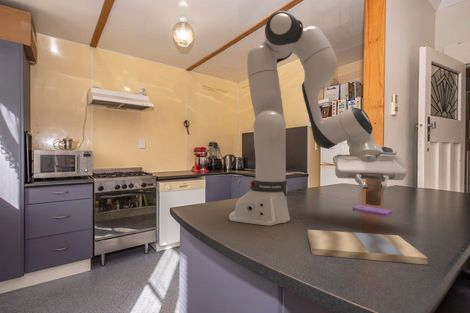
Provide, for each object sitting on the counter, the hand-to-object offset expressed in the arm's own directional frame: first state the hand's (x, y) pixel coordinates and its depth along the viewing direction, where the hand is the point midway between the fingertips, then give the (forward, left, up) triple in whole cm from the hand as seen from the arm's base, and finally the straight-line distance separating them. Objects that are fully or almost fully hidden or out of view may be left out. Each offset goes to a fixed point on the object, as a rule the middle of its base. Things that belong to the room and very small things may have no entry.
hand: (374, 188), depth 71 cm
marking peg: (0, +1, -5) cm, 5 cm away
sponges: (+8, +28, -14) cm, 32 cm away
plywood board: (-8, -12, -14) cm, 20 cm away
